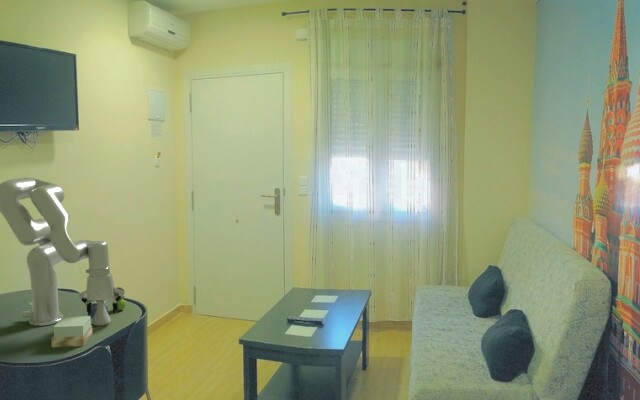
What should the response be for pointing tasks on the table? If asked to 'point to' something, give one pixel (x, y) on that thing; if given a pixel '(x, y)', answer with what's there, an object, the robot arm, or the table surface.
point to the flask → (101, 315)
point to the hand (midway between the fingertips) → (102, 312)
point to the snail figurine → (121, 302)
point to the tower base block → (71, 340)
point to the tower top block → (72, 326)
